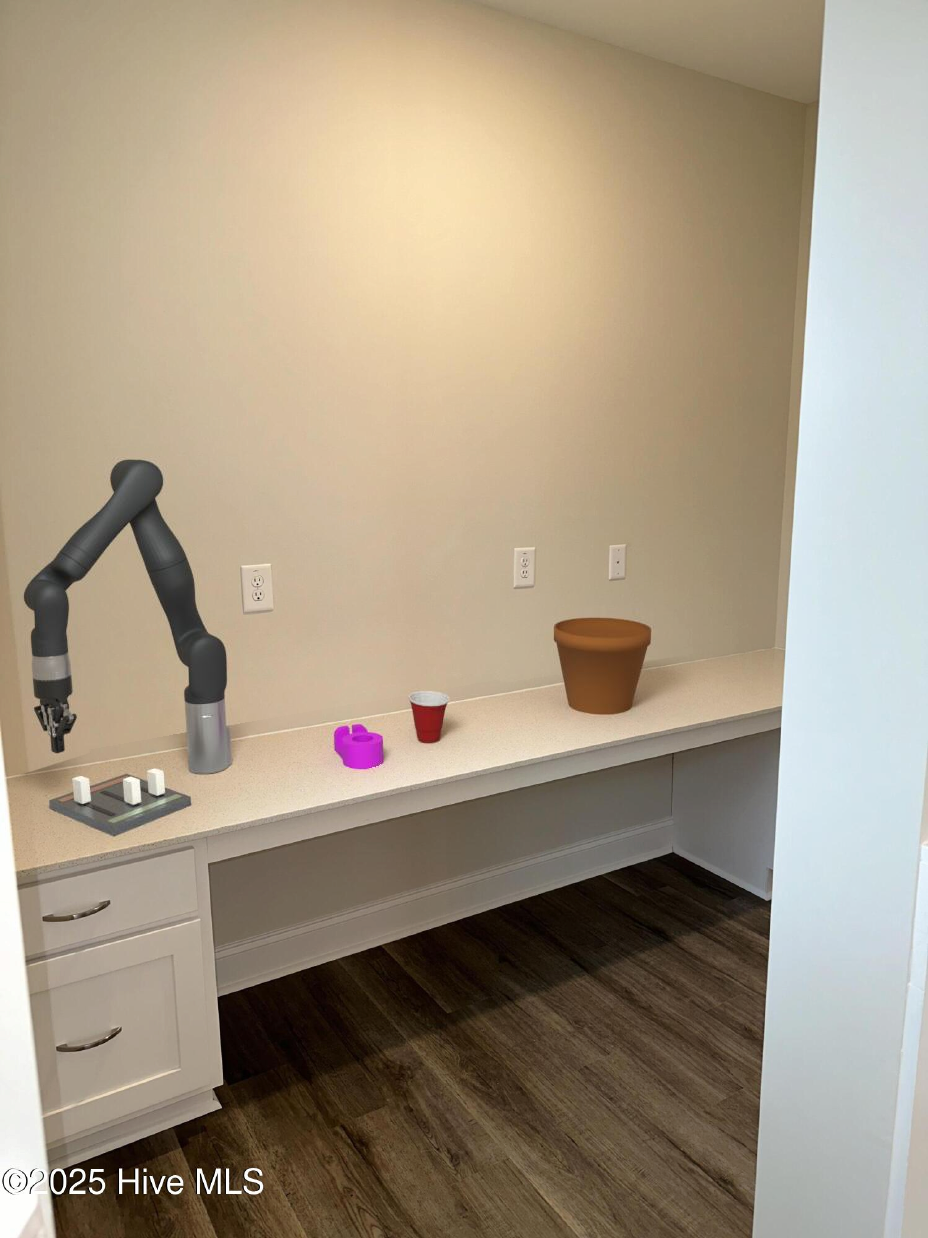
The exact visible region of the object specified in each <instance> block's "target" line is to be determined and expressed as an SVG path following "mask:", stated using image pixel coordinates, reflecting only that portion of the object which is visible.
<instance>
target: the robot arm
mask: <svg viewBox="0 0 928 1238" xmlns="http://www.w3.org/2000/svg"><path fill="white" fill-rule="evenodd" d="M109 482H110V487H111V489H112V492H113V493H112V495H111V497H110V498H109V499H108V500H107V502H106V503H104V505H103V506H102V507H101V508H100V510H99V511H97V513H95V514H94V515H93V516H92V517H91V518H90V519H89V520H87V521H86V522H85V523H84V524H83V525H81V526H80V527H79V528H78V529H77V530H76V531H75V532H74V533H73V534H72V535H71V537H69V539H68V541H66V543H65V544H64V545H63V546H62V547H61V549H60V550H59V552H58V553H57V554H56V555H55V557H54V559H52V560H51V561H50V562H49V563H48V564H47V565H45V566H44V567H43V568H42V569H41V570H40V571H39V572H38V573H37V574H36V575H34V577H33V578H32V579H31V580H30V582H28V584H27V586H26V587H25V589H24V592H23V601H24V603H25V605H26V606H27V607H28V609H29V610H31V611H32V612H33V615H34V617H33V618H34V627H33V628H32V630H31V631H30V647H31V672H32V674H31V675H32V683H33V684H32V686H33V687H32V688H33V696H34V697H35V698H36V699H37V700H39V705H36V706H33V707H34V708H33V710H34V712H35V715H36V717H37V719H38V721H39V723H40V725H41V728H42V730H43V732H47V735H48V736H50V749H51V752H52V753H55V754H59V753H64V752H65V750H66V747H65V746H66V745H65V735H68V734H71V731H72V729H73V727H74V725H75V722H76V721H77V718H78V717H77V716H78V715H77V714H76V713H71V711H70V710H69V709H70V704H69V700H68V698H69V697H70V696H72V694H73V680H72V664H71V658H70V654H69V642H68V634H67V632H68V631H67V629H68V625H69V614H70V611H69V610H70V603H69V597H68V593H67V590H68V589H69V588H70V586H72V584H74V583H76V582H79V581H81V580H83V579H84V578H85V577H86V576H87V574H88V573H89V572H90V571H91V569H92V568H93V567H94V565H95V564H96V563H97V561H98V560H99V559H100V558H101V556H102V555H103V554H104V552H105V551H106V550H107V548H108V547H109V546H110V545H111V544H112V542H113V541H115V539H116V538H117V536H118V535H120V533H121V532H122V531H123V530H124V528H125V527H127V526H128V525H130V527H131V530H132V532H133V536H134V539H135V542H136V544H137V547H138V550H139V552H140V553H139V554H140V555H141V559H142V561H143V563H144V566H145V570H146V573H147V574H148V575H147V576H148V577H149V579H150V582H151V585H152V588H153V589H154V592H155V594H156V596H157V599H158V601H159V603H160V605H161V607H162V610H163V612H164V614H165V616H166V619H167V621H168V624H169V628H170V631H171V636H172V638H173V643H174V647H175V650H176V654H177V656H178V658H179V660H180V661H181V663H182V664H183V665H184V666H186V667H187V669H188V670H187V671H188V685H187V686H186V687H185V688H184V690H183V698H184V709H185V726H186V742H187V743H186V744H187V759H188V770H189V772H191V773H193V774H201V775H203V774H205V775H207V774H208V775H209V774H215V773H218V772H221V771H224V770H226V769H227V768H228V767H229V766H231V765H232V764H233V763H232V760H233V759H232V746H231V730H230V729H231V728H230V727H229V726H228V725H227V714H226V699H225V694H226V693H225V691H226V689H227V683H228V659H227V651H226V647H225V645H224V642H223V641H222V640H221V639H220V638H219V637H217V636H215V635H213V634H211V633H209V632H208V630H207V628H206V627H205V624H204V622H203V620H202V618H201V616H200V613H199V611H198V607H197V603H196V586H195V578H194V574H193V570H192V568H191V565H190V562H189V560H188V557H187V554H186V552H185V550H184V548H183V546H182V545H181V542H180V541H179V539H178V538H177V536H176V534H174V532H173V531H172V530H171V528H170V526H169V525H168V524H167V522H166V521H165V519H164V518H163V515H162V513H161V510H160V508H159V506H158V503H157V500H156V499H157V497H158V495H160V493H161V492H162V489H163V487H164V476H163V473H162V471H161V469H160V468H159V466H157V465H156V464H155V463H153V462H151V461H148V460H143V459H123V460H120V461H118V462H117V463H116V464H115V465H114V466H113V468H112V469H111V473H110V477H109Z"/></svg>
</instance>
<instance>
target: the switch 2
mask: <svg viewBox="0 0 928 1238" xmlns="http://www.w3.org/2000/svg"><path fill="white" fill-rule="evenodd" d="M146 773H147V774H146V776H147V781H148V791H149V793H151V794H154V795H157V796H158V795H160V794H163V793H165V788H166V787H165V776H164V775H165V774H164V770H161V769H158V768H152V769H149V770H147V771H146Z"/></svg>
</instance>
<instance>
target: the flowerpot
mask: <svg viewBox="0 0 928 1238" xmlns="http://www.w3.org/2000/svg"><path fill="white" fill-rule="evenodd" d="M651 640H652V628H651V627H650V626H649V625H647V624H645V623H642V622H639V621H634V620H629V619H625V618H624V619H621V618H612V617H579V618H569V619H564V620H560V621H558V622H556V623H555V624H554V626H553V641H554V642H555V643H556V648H557V652H558V654H557V655H558V658H559V662H560V663H559V664H560V667H561V668H560V669H561V675H562V678H563V682H564V688H565V694H566V697H567V698H566V699H567V704H568V707H570V708H571V709H572V710H575V711H577V712H581V713H585V714H590V715H607V716H608V715H616V714H617V715H619V714H621V713H622V714H623V713H625V712H628V711H629V710H631V708H632V706H633V702H634V699H635V698H634V697H635V694H636V692H637V687H638V683H639V680H640V677H641V672H642V668H643V666H644V661H645V658H646V654H647V652H648V651H647V649H648V647H649V646H650V645H651V644H652V643H651V642H652V641H651Z"/></svg>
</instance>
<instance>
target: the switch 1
mask: <svg viewBox="0 0 928 1238" xmlns="http://www.w3.org/2000/svg"><path fill="white" fill-rule="evenodd" d="M71 781H72V788H73V789H72V792H74V801H76V802H79V803H81V804H84V803H87V802H89V801H91V796H90V786H91V785H90V778H88V777H86V776H82V775H80V776H76V777H73V778H71Z"/></svg>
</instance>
